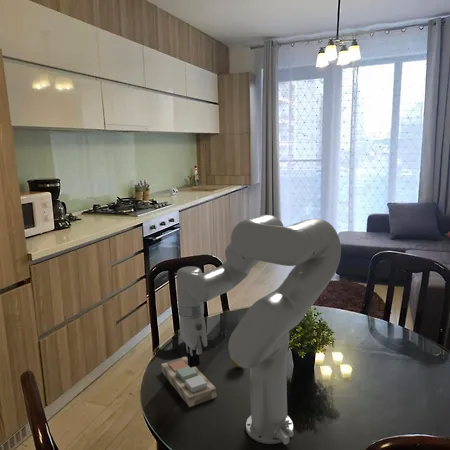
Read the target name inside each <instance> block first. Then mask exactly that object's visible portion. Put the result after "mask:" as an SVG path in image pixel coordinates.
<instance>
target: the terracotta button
mask: <svg viewBox="0 0 450 450" xmlns="http://www.w3.org/2000/svg"><path fill="white" fill-rule="evenodd" d="M187 366H188V365H187V364H186V363H185V362H184V361H183V360H181V361H178V362H175V363H171V364H169V367H170V368H171V369H172V370H173V372H176V371H177V370H178V369H181V368H184V367H187Z"/></svg>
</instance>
